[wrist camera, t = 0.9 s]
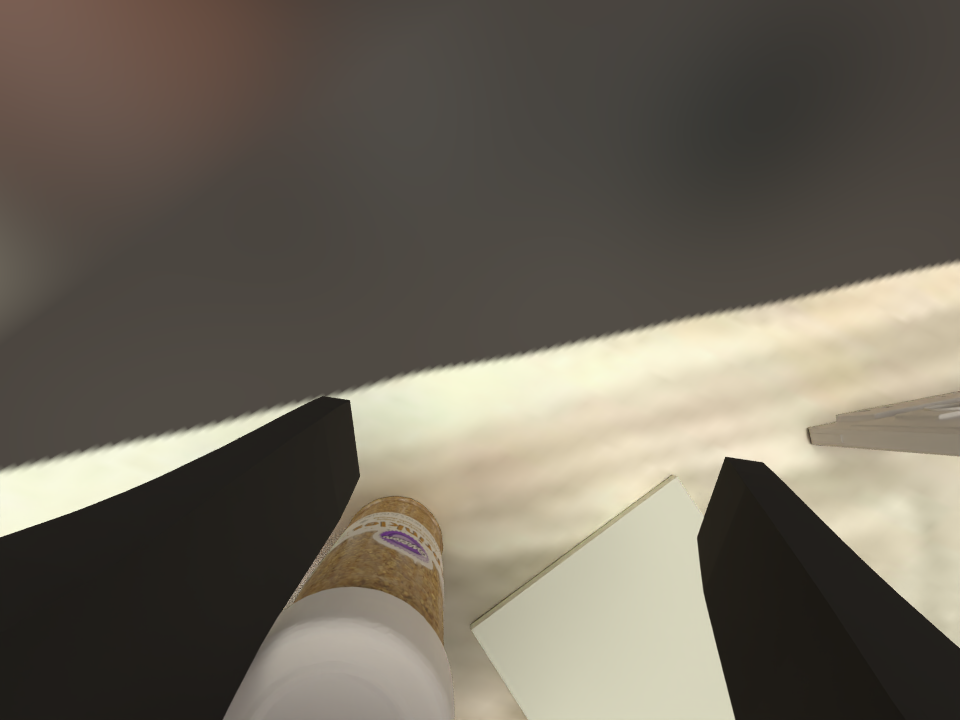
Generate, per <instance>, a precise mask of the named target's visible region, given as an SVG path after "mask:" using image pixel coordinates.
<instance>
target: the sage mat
mask: <svg viewBox="0 0 960 720" xmlns="http://www.w3.org/2000/svg"><path fill="white" fill-rule="evenodd" d="M703 519H704V516H703V514H702V513H701V511H700V510H699V508H698V507H697V505H696V504H695V502H694V501H693V499H692V498H691V496H690V495H689V493H688V492H687V490H686V489H685V487H684V486H683V484H682V483H681V481H680V480H679V478H678V477H677V476H674V475H672V476H670V477H669V478H668V479H666V480H665V481H664V482H662V483H661V484H659V485H658V486H657V487H655V488H654V489H653V490H651V491H650V492H649V493H647V494H646V495H645V496H643V497H642V498H641V499H639V500H638V501H637V502H635V503H634V504H633V505H631V506H630V507H629V508H627V509H626V510H625V511H623V512H622V513H620V514H619V515H618V516H616V517H615V518H614V519H612V520H611V521H610V522H608V523H607V524H606V525H604V526H603V527H602V528H600V529H599V530H598V531H596V532H595V533H594V534H592V535H591V536H590V537H588V538H587V539H585V540H584V541H583V542H581V543H580V544H579V545H577V546H576V547H575V548H573V549H572V550H571V551H569V552H568V553H567V554H565V555H564V556H563V557H561V558H560V559H559V560H557V561H556V562H555V563H553V564H552V565H550V566H549V567H548V568H546V569H545V570H544V571H542V572H541V573H540V574H538V575H537V576H536V577H534V578H533V579H532V580H530V581H529V582H528V583H526V584H525V585H524V586H522V587H521V588H520V589H518V590H517V591H516V592H514V593H513V594H511V595H510V596H509V597H507V598H506V599H505V600H503V601H502V602H501V603H499V604H498V605H497V606H495V607H494V608H493V609H491V610H490V611H489V612H487V613H486V614H485V615H483V616H482V617H481V618H479V619H478V620H476V621H475V622H474V623H472V624H471V625H470V627H471V631H472V632H473V634H474V635H475V637H476V639H477V640H478V642H479V643H480V645H481V647H482V648H483V650H484V651H485V653H486V654H487V656H488V658H489V659H490V661H491V662H492V664H493V665H494V667H495V669H496V670H497V672H498V673H499V675H500V676H501V678H502V680H503V681H504V683H505V684H506V686H507V687H508V689H509V691H510V692H511V694H512V695H513V697H514V698H515V700H516V702H517V703H518V705H519V706H520V708H521V709H522V711H523V713H524V714H525V716H526V717H527V719H528V720H735V717H734V713H733V709H732V705H731V702H730V698H729V694H728V690H727V686H726V682H725V678H724V674H723V670H722V666H721V662H720V658H719V654H718V650H717V646H716V642H715V638H714V634H713V630H712V626H711V622H710V618H709V614H708V610H707V606H706V601H705V597H704V593H703V586H702V578H701V571H700V562H699V553H698V544H697V535H698V533H699V530H700V527H701V524H702V521H703Z"/></svg>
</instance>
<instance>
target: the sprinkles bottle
mask: <svg viewBox="0 0 960 720" xmlns="http://www.w3.org/2000/svg"><path fill="white" fill-rule="evenodd" d="M442 551H443V544H442V535H441V530H440V527H439V525H438V523H437V521H436V520H435V518H434V516H433V515H432V514H431V513H430V512H429V511H428V510H427V509H426V508H425V507H424V506H423V505H422V504H420V503H419V502H417V501H414V500H413V499H411V498H404V497H398V496H393V497H386V498H381V499H377V500H375V501H373V502H371V503H370V504H368V505H366V506H365V507H363V508H362V509H361V510H360V511H359V512H358V513H357V514H356V515H355V516H354V518H353V519H352V521H351V523H350V524H349V526H348V527H347V529H346V530H345V531H344V533H343V534H342V535H341V536H340V538H339V539H338V540H337V541H336V543H335V544H334V545H333V547H332V548H331V549H330V551H329V552H328V553H327V555H326V556H325V557H324V558H323V560H322V561H321V562H320V564H319V565H318V566H317V567H316V569H315V570H314V571H313V573H312V574H311V575H310V577H309V578H308V579H307V581H306V582H305V584H304V585H303V587H302V589H301V590H300V592H299V594H298V596H297V598H296V600H295V601H294V603H293V604H292V605H291V606H289V607H288V608H287V609H285V610H284V611H283V612H281V613H280V615H279V616H278V618H277V619H276V621H275V622H274V624H273V626H272V628H271V629H270V631H269V633H268V634H267V636H266V638H265V639H264V641H263V643H262V645H261V646H260V648H259V650H258V652H257V654H256V656H255V658H254V660H253V662H252V664H251V666H250V667H249V669H248V671H247V673H246V675H245V677H244V679H243V681H242V683H241V685H240V687H239V689H238V691H237V692H236V694H235V696H234V698H233V700H232V702H231V704H230V706H229V708H228V710H227V712H226V714H225V716H224V718H223V720H454V689H453V679H452V674H451V669H450V664H449V660H448V657H447V654H446V652H445V649H444V647H443V646H444V643H443V608H444V577H443V562H442V556H441V555H442Z"/></svg>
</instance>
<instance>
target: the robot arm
mask: <svg viewBox="0 0 960 720" xmlns="http://www.w3.org/2000/svg"><path fill="white" fill-rule="evenodd" d="M359 477H360V473H359V465H358V457H357V450H356V442H355V435H354V427H353V420H352V412H351V405H350V400H345V399H338V398H331V397H325V396H322V397H320V398H318V399H315V400H313V401H311V402H309V403H307V404H305V405H303V406H301V407H299V408H297V409H295V410H293V411H291V412H289V413H287V414H285V415H283V416H281V417H279V418H277V419H275V420H273V421H271V422H269V423H268V424H266V425H264V426H262V427H260V428H258V429H256V430H254V431H252V432H250V433H248V434H246V435H244V436H242V437H241V438H239V439H237V440H235V441H233V442H231V443H229V444H227V445H225V446H223V447H221V448H219V449H217V450H215V451H213V452H211V453H209V454H206V455H204V456H202V457H200V458H198V459H196V460H194V461H192V462H190V463H188V464H185V465H183V466H181V467H179V468H177V469H175V470H173V471H171V472H169V473H167V474H164V475H162V476H160V477H158V478H156V479H153V480H151V481H149V482H147V483H144V484H142V485H140V486H137V487H135V488H133V489H130V490H128V491H126V492H123V493H121V494H118V495H116V496H113V497H111V498H108V499H106V500H103V501H101V502H98V503H96V504H93V505H91V506H88V507H85V508H83V509H80V510H78V511H75V512H72V513H70V514H67V515H64V516H61V517H58V518H55V519H52V520H49V521H47V522H44V523H41V524H38V525H35V526H32V527H29V528H26V529H23V530H21V531H18V532H15V533H12V534H9V535H6V536H3V537H0V720H223V718H224V716H225V714H226V712H227V710H228V708H229V706H230V704H231V702H232V700H233V698H234V696H235V694H236V692H237V691H238V689H239V687H240V685H241V683H242V681H243V679H244V677H245V675H246V673H247V671H248V669H249V667H250V666H251V664H252V662H253V660H254V658H255V656H256V654H257V652H258V650H259V648H260V646H261V645H262V643H263V641H264V639H265V638H266V636H267V634H268V633H269V631H270V629H271V628H272V626H273V624H274V622H275V621H276V619H277V618H278V616H279V615H280V613H281V611H282V610H283V608H284V607H285V605H286V604H287V602H288V600H289V599H290V597H291V596H292V594H293V593H294V591H295V590H296V588H297V586H298V585H299V583H300V582H301V580H302V579H303V577H304V576H305V574H306V572H307V571H308V569H309V568H310V566H311V565H312V563H313V561H314V560H315V558H316V557H317V555H318V554H319V552H320V550H321V549H322V547H323V546H324V544H325V543H326V541H327V539H328V538H329V536H330V535H331V533H332V531H333V530H334V528H335V527H336V525H337V523H338V522H339V520H340V518H341V516H342V514H343V512H344V510H345V508H346V506H347V504H348V502H349V500H350V497H351V495H352V493H353V491H354V488H355V486H356V484H357V482H358V480H359ZM697 544H698V553H699V562H700V571H701V578H702V586H703V593H704V597H705V601H706V606H707V610H708V614H709V618H710V622H711V626H712V630H713V634H714V638H715V642H716V646H717V650H718V654H719V658H720V662H721V666H722V670H723V674H724V678H725V682H726V686H727V690H728V694H729V698H730V702H731V705H732V709H733V713H734V717H735V720H960V648H959V647H958V646H957V645H955V644H954V643H953V642H952V641H951V640H950V639H949V638H947V637H946V636H945V635H944V634H943V633H942V632H941V631H940V630H938V629H937V628H936V627H935V626H934V625H933V624H932V623H931V622H929V621H928V620H927V619H926V618H925V617H924V616H923V615H922V614H920V613H919V612H918V611H917V610H916V609H915V608H914V607H913V606H911V605H910V604H909V603H908V602H907V601H906V600H905V599H904V598H902V597H901V596H900V595H899V594H898V593H897V592H896V591H895V590H894V589H893V588H892V587H891V586H890V585H888V584H887V583H886V582H885V581H884V580H883V579H882V578H881V577H880V576H879V575H878V574H877V573H876V572H875V571H873V570H872V569H871V568H870V567H869V566H868V565H867V564H866V563H865V562H864V561H863V560H862V559H861V558H860V557H859V556H858V555H857V554H856V553H855V552H854V551H853V550H852V549H851V548H849V547H848V546H847V545H846V544H845V543H844V542H843V541H842V540H841V539H840V538H839V537H838V536H837V535H836V534H835V533H834V532H833V531H832V530H831V529H830V528H829V527H828V526H827V525H826V524H825V523H824V522H823V521H822V520H821V519H820V518H819V517H818V516H817V515H816V514H815V513H814V512H813V511H812V510H811V509H810V508H809V507H808V506H807V505H806V504H805V503H804V502H803V501H802V500H801V499H800V498H799V497H798V496H797V495H796V494H795V493H794V492H793V491H792V490H791V489H790V488H789V487H788V486H787V485H786V484H785V483H784V482H783V481H782V480H781V479H780V478H779V477H778V476H777V475H776V474H775V473H774V472H773V471H772V470H770V469H769V468H768V467H767V466H766V465H765V464H764V463H763V462H756V461H750V460H743V459H736V458H730V457H725V459H724V462H723V465H722V468H721V471H720V474H719V476H718V479H717V482H716V485H715V488H714V490H713V493H712V496H711V499H710V502H709V504H708V507H707V510H706V513H705V516H704V519H703V521H702V524H701V527H700V530H699V533H698V535H697Z"/></svg>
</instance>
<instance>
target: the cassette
mask: <svg viewBox="0 0 960 720" xmlns="http://www.w3.org/2000/svg"><path fill="white" fill-rule="evenodd" d="M808 429H809V433H810V437H811V441H812V444H813V445H824V446H837V447H849V448H862V449H874V450H887V451H899V452H912V453H924V454H937V455H949V456H960V391H958V392H953V393H948V394H943V395H938V396H932V397H927V398H922V399H917V400H911V401H906V402H901V403H896V404H891V405H885V406H880V407H875V408H870V409H865V410H859V411H854V412H849V413H844V414H839V415H836V422H833V423H829V424H824V425H819V426H814V427H809V428H808Z"/></svg>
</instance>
